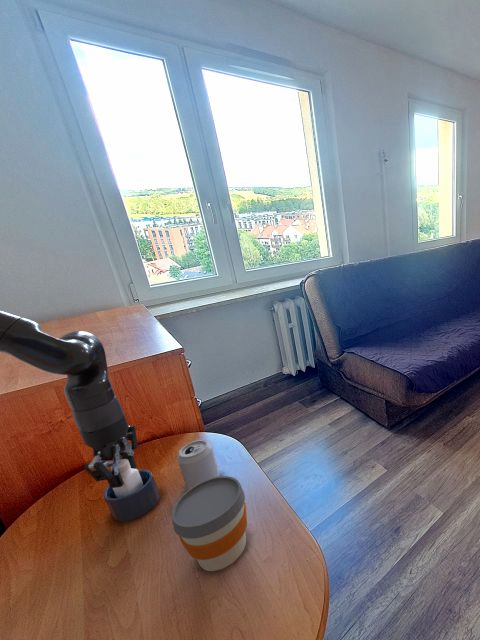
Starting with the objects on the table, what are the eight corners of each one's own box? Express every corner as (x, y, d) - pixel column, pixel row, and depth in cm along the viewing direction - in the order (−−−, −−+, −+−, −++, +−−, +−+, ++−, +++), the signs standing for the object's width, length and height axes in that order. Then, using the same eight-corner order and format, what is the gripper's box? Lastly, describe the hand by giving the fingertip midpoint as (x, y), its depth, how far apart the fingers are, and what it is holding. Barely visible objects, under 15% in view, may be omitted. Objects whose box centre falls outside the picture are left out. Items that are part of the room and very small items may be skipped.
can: (192, 475, 92) (181, 440, 88) (223, 469, 94) (213, 435, 90) (183, 497, 85) (170, 461, 81) (216, 490, 87) (205, 454, 83)
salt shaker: (116, 500, 80) (103, 470, 76) (130, 486, 84) (118, 457, 80) (132, 501, 80) (120, 470, 76) (146, 487, 83) (134, 457, 80)
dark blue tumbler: (128, 527, 78) (118, 505, 75) (105, 514, 81) (94, 492, 78) (168, 496, 86) (160, 475, 83) (145, 485, 89) (137, 465, 86)
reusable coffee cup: (262, 552, 72) (249, 502, 67) (194, 595, 65) (173, 542, 59) (246, 513, 81) (234, 465, 76) (185, 546, 73) (166, 496, 68)
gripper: (102, 402, 79) (124, 458, 86) (54, 443, 66) (84, 506, 72) (138, 398, 81) (158, 454, 87) (98, 438, 68) (124, 499, 74)
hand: (124, 477), depth 80 cm, fingers closed on salt shaker, 4 cm apart
